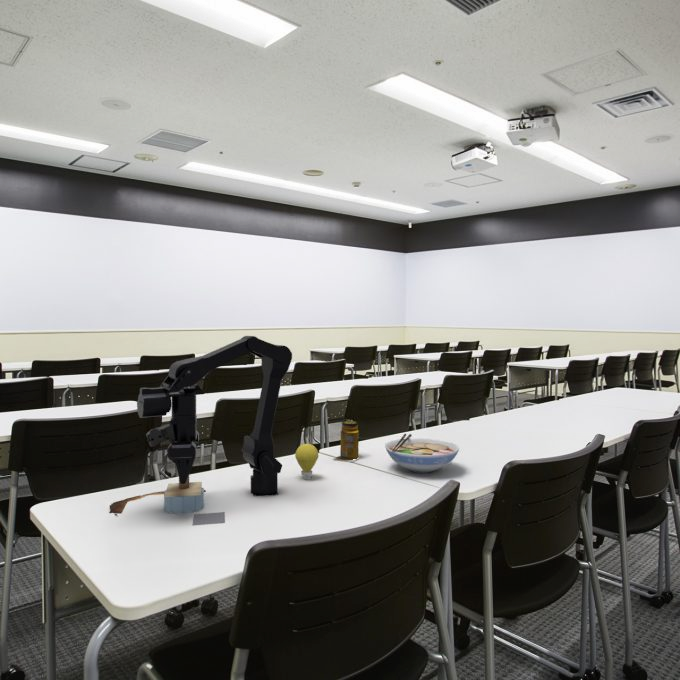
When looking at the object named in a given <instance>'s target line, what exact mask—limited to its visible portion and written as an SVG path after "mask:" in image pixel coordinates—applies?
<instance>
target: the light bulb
mask: <svg viewBox="0 0 680 680" xmlns="http://www.w3.org/2000/svg"><path fill="white" fill-rule="evenodd" d="M294 454H295V455H294V456H295V459H296V461H297V464H298V465H299V466H300V468H301V472H300V473H301V474H300V475H301V476H302V480H311V479H312V476H313V470H312V469H313V468H314V466H315V464H316V463H317V461H318V459H319V451H318V449H317V448H316V446H314V445H313V444H311V443H304V444H301V445H299V446H298V448H297V449H296V451H295V453H294Z"/></svg>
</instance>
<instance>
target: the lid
mask: <svg viewBox="0 0 680 680" xmlns="http://www.w3.org/2000/svg"><path fill="white" fill-rule="evenodd" d="M202 484H203V482H202V481H193V482H191V481H190V474H189V475H188V478H187V481H186V483H185V484H181V483H180V480H179V479H178V483H177V482H175V483H168V484H167V486H166V489H165V490H166V493H165V497H177V496H194V495H201V488H203V487H202V486H203V485H202Z"/></svg>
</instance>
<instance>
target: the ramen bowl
mask: <svg viewBox="0 0 680 680" xmlns="http://www.w3.org/2000/svg"><path fill="white" fill-rule="evenodd" d="M412 435H413V434H412V433H410V434H408V435H407V433H404V434H403V435H402V436H401V438H400V439H395V440H394V439H393V440H389V441H388V442H385V444H384V448H385V450H386V452H387V454H388V455H389V457H390V458H391V459H392V460H393V461H394V462H395V463H396V464H398V465H399V466H400V467H402V468H405V469H408V470H409V471H411V472H414V473H421V474H425V473H431V472H434V471H436V470H440V469H443V468H444V467H446V466H448V465H449V464H450V463H452V461H453V460H454V459H455V458H456V456H457V455H458V452H459V451H460V447H459V445H457V444H456V443H453V442H448V441H445V440H440V439H435V438H434V439H432V438H421V437H420V438H418V437H417V438H414V437H412Z"/></svg>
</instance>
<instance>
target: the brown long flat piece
mask: <svg viewBox="0 0 680 680" xmlns="http://www.w3.org/2000/svg"><path fill="white" fill-rule="evenodd" d="M205 492H207V490H206V489H204V493H205ZM164 493H165V490H164V491H162V490H161V491H154V492H151V493H146V494H142V495H135V496H132V497H127V498H125V499H121V500H118V501H114V502H112V503H111V504H110V505H109V508H110V509H109V512H108V513H109V514H114V515H115V516H116V517H119V515H120V514H122V513H123V511H124V509H125V508H126V506H127V504H128V503H129V502H133V501H137V500H141V499H142V498H147V497H149V496H156V495H157V496H159V495H164ZM118 514H119V515H118Z"/></svg>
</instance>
